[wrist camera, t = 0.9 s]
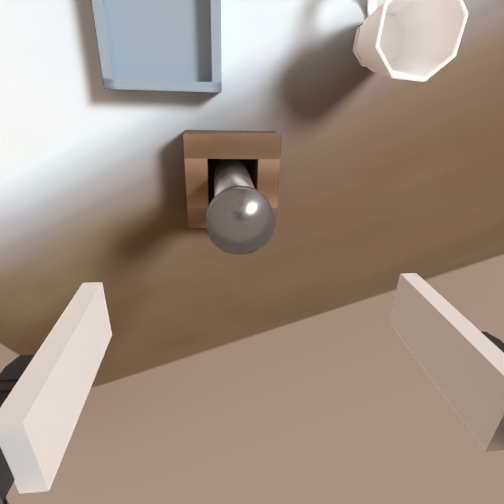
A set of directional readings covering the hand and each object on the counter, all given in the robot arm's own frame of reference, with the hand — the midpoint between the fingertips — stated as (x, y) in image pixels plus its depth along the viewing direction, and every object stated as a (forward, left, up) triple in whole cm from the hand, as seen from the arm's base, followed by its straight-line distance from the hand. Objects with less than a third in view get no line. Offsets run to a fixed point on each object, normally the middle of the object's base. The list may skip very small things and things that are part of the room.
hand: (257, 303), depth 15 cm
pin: (0, 0, -23) cm, 23 cm away
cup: (-14, +13, -24) cm, 31 cm away
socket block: (0, 0, -23) cm, 23 cm away
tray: (-15, -6, -23) cm, 29 cm away
